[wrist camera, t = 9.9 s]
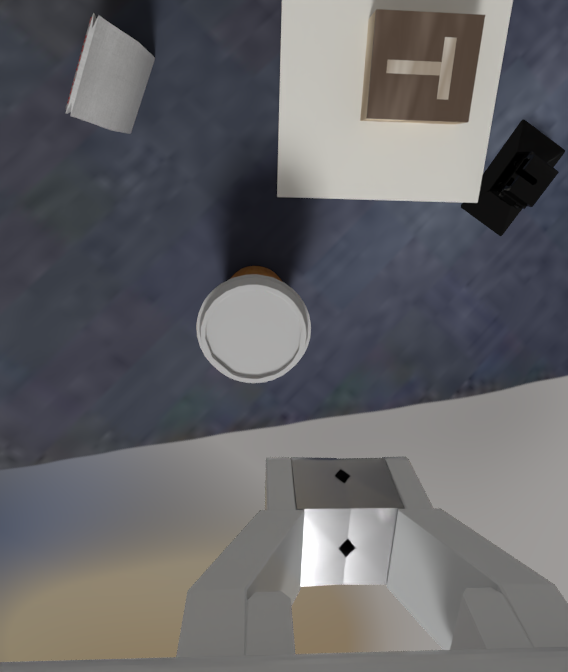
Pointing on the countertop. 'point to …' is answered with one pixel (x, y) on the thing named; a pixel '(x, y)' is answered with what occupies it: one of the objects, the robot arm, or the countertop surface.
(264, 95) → the countertop surface
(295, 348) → the disposable coffee cup
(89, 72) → the grey angular block
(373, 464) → the robot arm
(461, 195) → the felt mat
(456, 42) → the letter block
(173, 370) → the countertop surface
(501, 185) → the black mounting plate
